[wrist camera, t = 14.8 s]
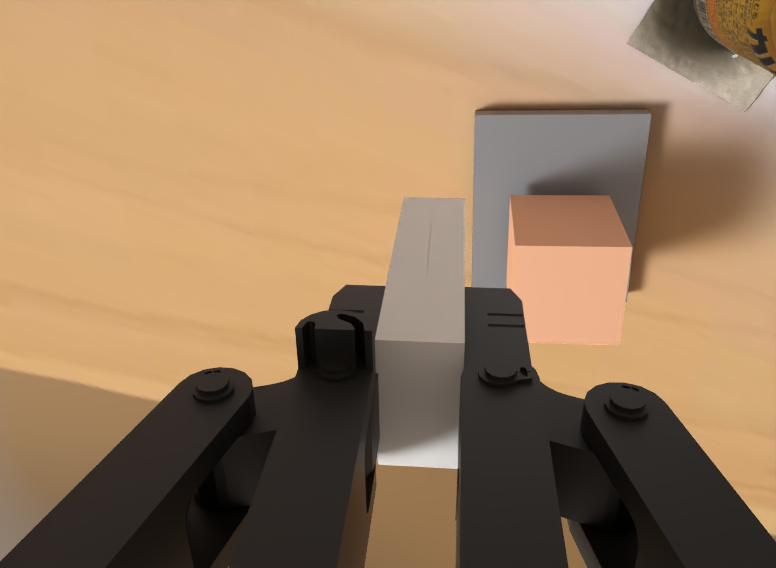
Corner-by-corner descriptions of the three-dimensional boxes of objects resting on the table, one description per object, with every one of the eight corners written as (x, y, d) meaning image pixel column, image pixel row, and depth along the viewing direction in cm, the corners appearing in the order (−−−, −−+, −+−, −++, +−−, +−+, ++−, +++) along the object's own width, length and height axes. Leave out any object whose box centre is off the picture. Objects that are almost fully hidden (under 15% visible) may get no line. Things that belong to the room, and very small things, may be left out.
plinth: (471, 290, 44) (471, 298, 43) (475, 110, 39) (475, 115, 38) (623, 293, 43) (626, 301, 42) (647, 109, 38) (651, 114, 37)
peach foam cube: (510, 194, 39) (515, 245, 33) (609, 195, 38) (632, 247, 32) (506, 280, 41) (510, 342, 35) (599, 282, 40) (619, 345, 35)
